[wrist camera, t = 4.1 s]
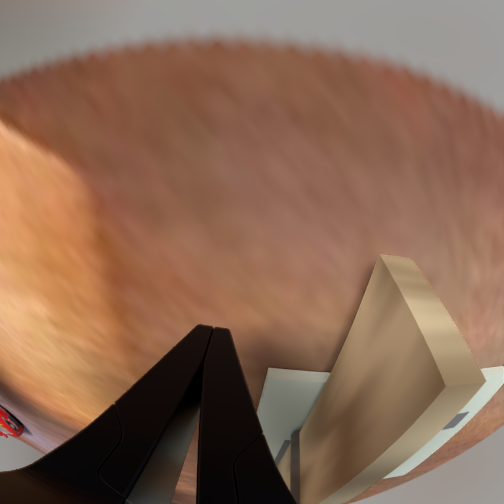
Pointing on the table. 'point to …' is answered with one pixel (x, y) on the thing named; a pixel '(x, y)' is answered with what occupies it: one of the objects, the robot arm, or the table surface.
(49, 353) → the table surface
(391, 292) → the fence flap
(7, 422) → the race car
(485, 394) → the board
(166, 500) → the robot arm
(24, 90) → the table surface
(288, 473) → the fixed fence panel
